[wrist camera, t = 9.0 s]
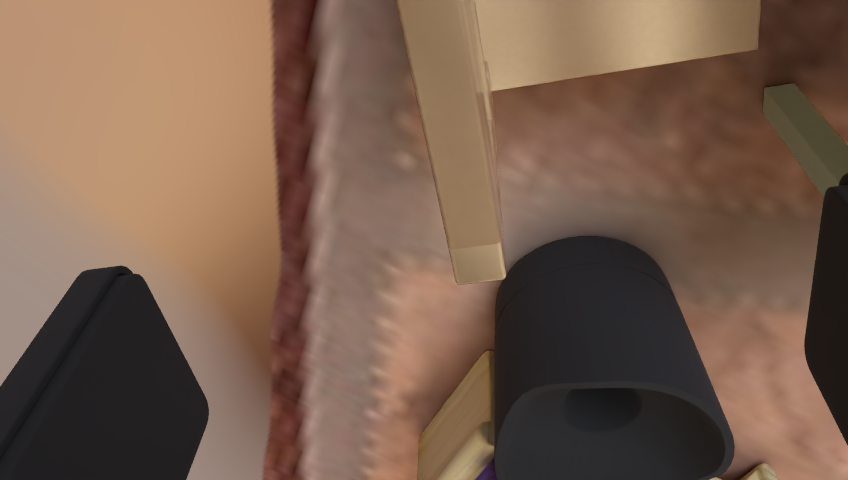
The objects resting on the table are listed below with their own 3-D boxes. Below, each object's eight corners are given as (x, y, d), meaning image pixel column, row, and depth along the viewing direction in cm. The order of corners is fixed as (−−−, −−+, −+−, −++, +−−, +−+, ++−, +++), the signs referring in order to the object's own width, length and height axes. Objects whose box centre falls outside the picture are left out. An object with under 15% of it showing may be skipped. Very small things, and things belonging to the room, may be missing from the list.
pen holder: (473, 239, 36) (476, 396, 28) (674, 210, 34) (738, 367, 26) (501, 374, 41) (511, 538, 33) (676, 353, 40) (730, 521, 32)
